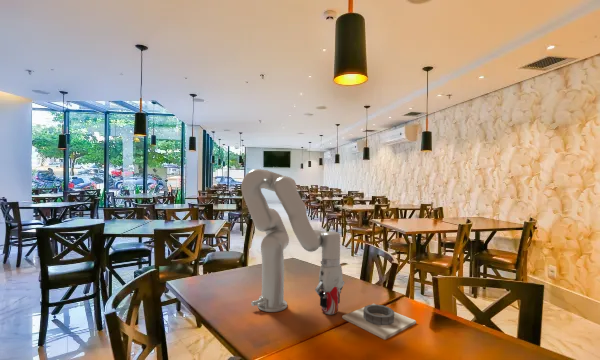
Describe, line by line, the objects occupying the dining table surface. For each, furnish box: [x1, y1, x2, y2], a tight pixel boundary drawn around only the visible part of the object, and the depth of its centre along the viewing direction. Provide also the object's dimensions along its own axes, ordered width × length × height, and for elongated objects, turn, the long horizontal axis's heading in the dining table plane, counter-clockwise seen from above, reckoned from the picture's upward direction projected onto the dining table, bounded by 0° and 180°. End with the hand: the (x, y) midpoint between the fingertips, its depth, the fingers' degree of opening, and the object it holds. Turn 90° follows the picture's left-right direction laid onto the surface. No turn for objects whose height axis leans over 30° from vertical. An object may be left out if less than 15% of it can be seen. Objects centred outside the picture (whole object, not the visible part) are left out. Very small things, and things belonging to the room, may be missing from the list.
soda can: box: [321, 285, 339, 316], centre depth 124 cm, size 7×7×12 cm
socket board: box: [341, 303, 417, 340], centre depth 117 cm, size 20×20×4 cm
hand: (329, 304), depth 124 cm, fingers closed on soda can, 7 cm apart
